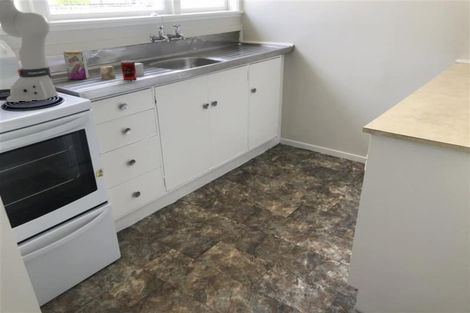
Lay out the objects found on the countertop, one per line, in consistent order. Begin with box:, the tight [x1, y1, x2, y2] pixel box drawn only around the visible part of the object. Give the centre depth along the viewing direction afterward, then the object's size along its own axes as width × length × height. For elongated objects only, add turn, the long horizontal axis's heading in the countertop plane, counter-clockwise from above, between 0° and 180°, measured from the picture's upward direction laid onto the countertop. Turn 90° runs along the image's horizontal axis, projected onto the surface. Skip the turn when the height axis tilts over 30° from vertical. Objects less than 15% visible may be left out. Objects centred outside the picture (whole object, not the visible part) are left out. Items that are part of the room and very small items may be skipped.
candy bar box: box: [63, 50, 90, 80], centre depth 217 cm, size 11×5×16 cm, turn 92°
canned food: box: [120, 59, 137, 81], centre depth 211 cm, size 8×8×11 cm
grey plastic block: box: [135, 62, 145, 77], centre depth 226 cm, size 6×6×7 cm
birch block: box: [99, 65, 116, 80], centre depth 218 cm, size 6×6×7 cm
